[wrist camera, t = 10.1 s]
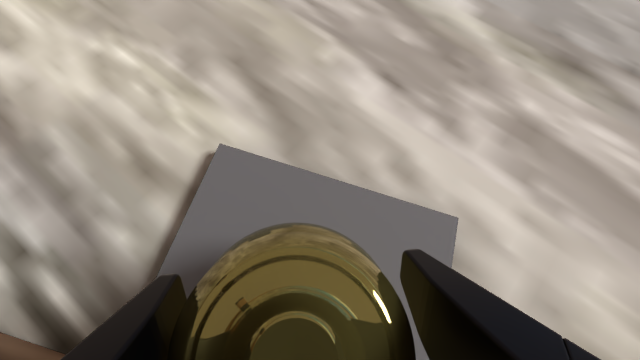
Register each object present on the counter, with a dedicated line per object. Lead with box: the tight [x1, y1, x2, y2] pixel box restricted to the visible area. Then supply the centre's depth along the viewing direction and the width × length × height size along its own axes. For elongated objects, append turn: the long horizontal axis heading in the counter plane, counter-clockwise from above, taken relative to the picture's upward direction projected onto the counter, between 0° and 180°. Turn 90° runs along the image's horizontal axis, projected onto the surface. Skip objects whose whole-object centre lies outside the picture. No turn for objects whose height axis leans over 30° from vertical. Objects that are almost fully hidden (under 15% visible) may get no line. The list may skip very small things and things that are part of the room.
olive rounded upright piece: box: [167, 222, 416, 360], centre depth 10 cm, size 7×7×10 cm
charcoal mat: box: [156, 144, 458, 360], centre depth 15 cm, size 14×14×1 cm
